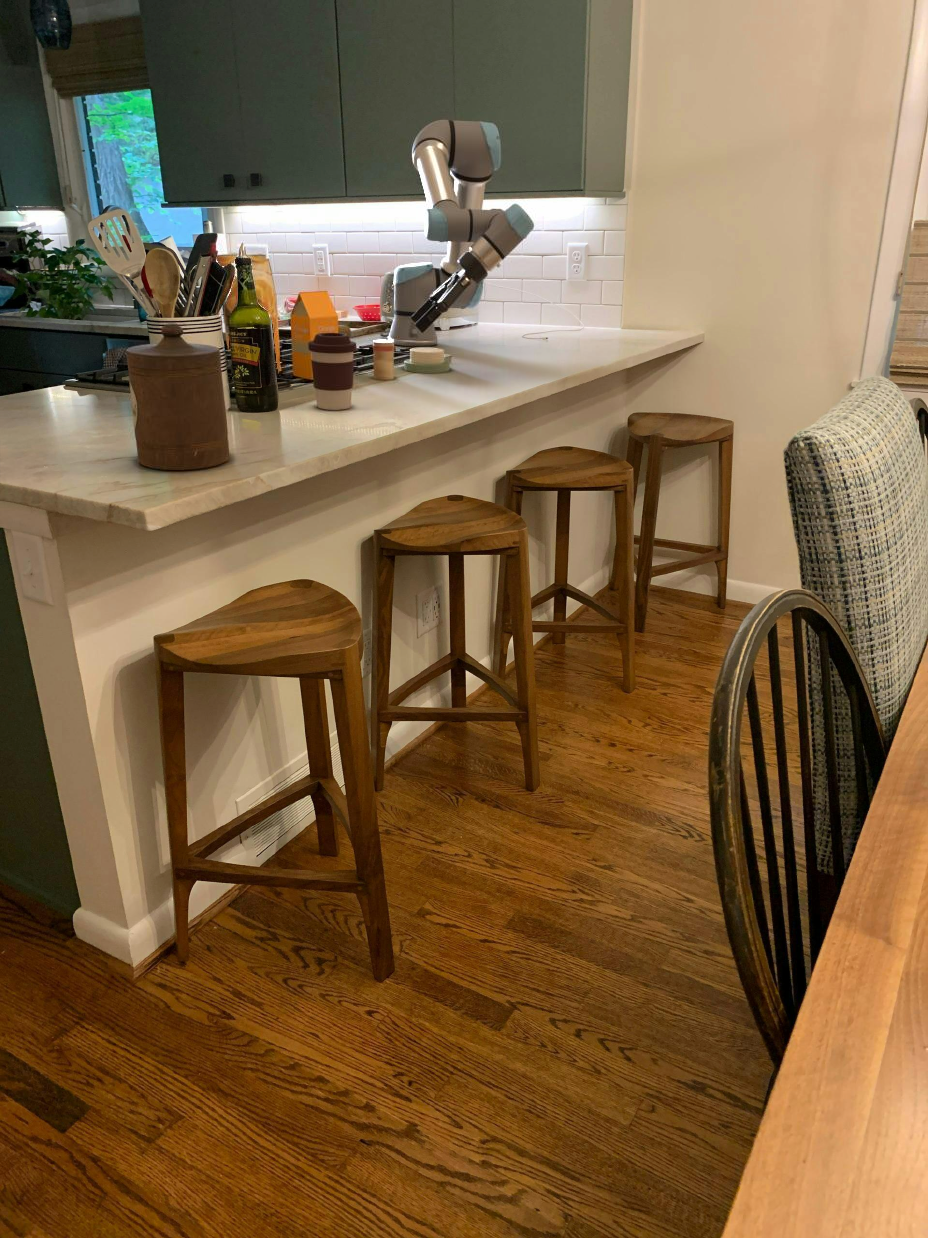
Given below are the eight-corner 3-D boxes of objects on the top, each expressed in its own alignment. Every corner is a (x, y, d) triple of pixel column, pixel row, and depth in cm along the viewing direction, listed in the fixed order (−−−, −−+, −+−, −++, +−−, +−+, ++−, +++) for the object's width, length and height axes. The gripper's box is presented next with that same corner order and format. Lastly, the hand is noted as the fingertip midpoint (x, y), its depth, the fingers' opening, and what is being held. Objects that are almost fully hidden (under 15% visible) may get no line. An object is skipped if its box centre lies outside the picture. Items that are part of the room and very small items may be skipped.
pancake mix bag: (212, 377, 227) (203, 253, 216) (273, 368, 241) (267, 252, 229) (230, 380, 223) (221, 255, 212) (291, 371, 237) (285, 253, 225)
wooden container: (170, 445, 166) (157, 316, 157) (245, 453, 162) (236, 321, 153) (119, 465, 153) (102, 325, 144) (199, 475, 149) (187, 332, 140)
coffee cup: (319, 413, 194) (317, 338, 187) (304, 404, 201) (301, 332, 195) (364, 410, 198) (363, 336, 192) (347, 401, 206) (345, 330, 200)
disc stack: (395, 367, 247) (395, 348, 245) (428, 363, 255) (428, 345, 253) (425, 374, 239) (425, 354, 237) (458, 370, 247) (459, 350, 245)
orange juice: (339, 376, 234) (338, 291, 226) (312, 379, 228) (309, 293, 220) (320, 371, 239) (317, 289, 230) (292, 375, 233) (288, 290, 224)
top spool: (369, 377, 233) (368, 340, 229) (385, 375, 236) (385, 338, 233) (382, 380, 230) (382, 343, 226) (398, 378, 233) (398, 341, 229)
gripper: (497, 277, 215) (431, 343, 219) (482, 269, 237) (422, 329, 242) (475, 252, 212) (409, 320, 216) (462, 246, 234) (402, 307, 239)
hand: (416, 325), depth 229 cm, fingers open, 13 cm apart
